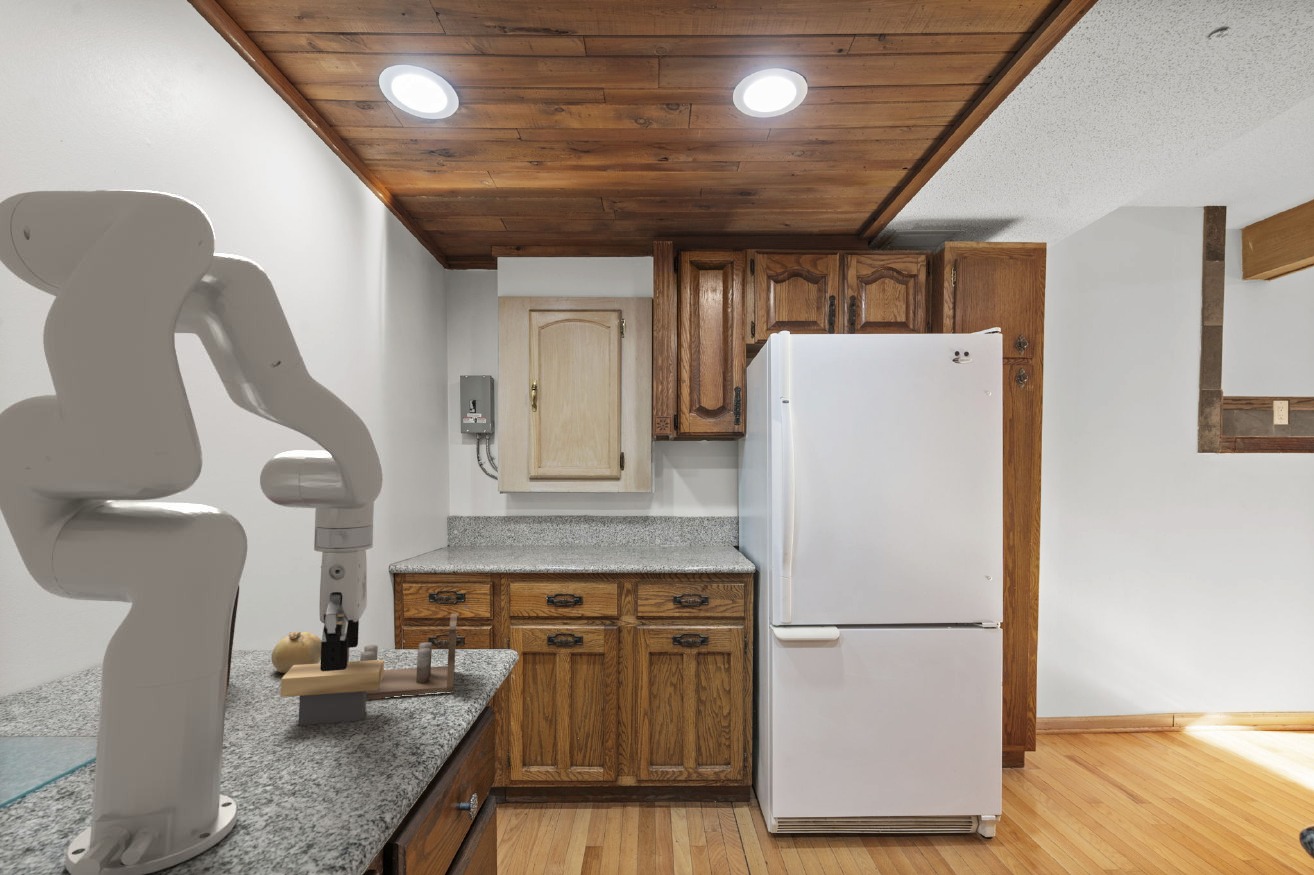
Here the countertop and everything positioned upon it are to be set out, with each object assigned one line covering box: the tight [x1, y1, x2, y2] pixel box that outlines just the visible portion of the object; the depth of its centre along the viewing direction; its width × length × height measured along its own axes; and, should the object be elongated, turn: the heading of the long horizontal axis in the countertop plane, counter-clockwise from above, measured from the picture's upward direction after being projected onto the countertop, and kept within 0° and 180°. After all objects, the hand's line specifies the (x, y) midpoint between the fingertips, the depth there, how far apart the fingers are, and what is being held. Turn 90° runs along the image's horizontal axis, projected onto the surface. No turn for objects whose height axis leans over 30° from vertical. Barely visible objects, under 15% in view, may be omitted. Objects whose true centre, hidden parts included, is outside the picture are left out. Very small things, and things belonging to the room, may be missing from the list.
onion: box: [270, 631, 322, 674], centre depth 107 cm, size 8×8×7 cm
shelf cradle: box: [347, 613, 458, 701], centre depth 101 cm, size 11×18×10 cm, turn 107°
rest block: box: [297, 691, 367, 727], centre depth 87 cm, size 3×8×4 cm, turn 107°
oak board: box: [279, 659, 385, 698], centre depth 88 cm, size 6×12×2 cm, turn 107°
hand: (340, 657), depth 89 cm, fingers open, 9 cm apart
